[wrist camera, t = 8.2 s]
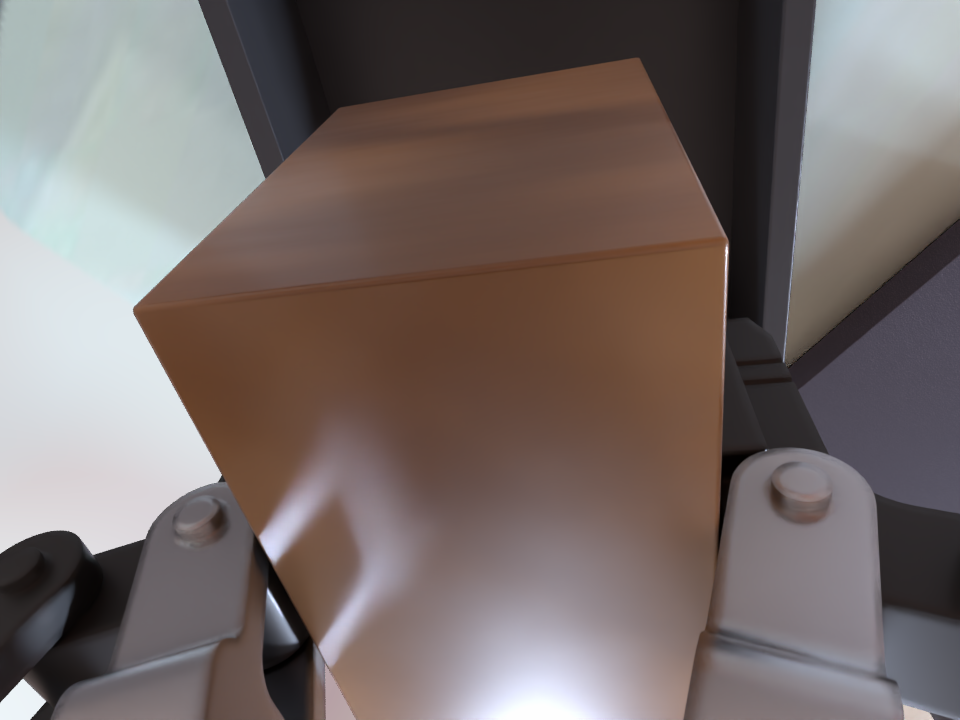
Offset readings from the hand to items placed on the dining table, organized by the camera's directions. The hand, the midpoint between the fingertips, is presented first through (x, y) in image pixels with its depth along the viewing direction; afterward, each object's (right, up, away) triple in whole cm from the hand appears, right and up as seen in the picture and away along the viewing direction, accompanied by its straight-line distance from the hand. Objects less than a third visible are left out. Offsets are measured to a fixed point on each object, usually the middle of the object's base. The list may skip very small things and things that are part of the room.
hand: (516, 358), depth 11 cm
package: (0, +1, +1) cm, 1 cm away
